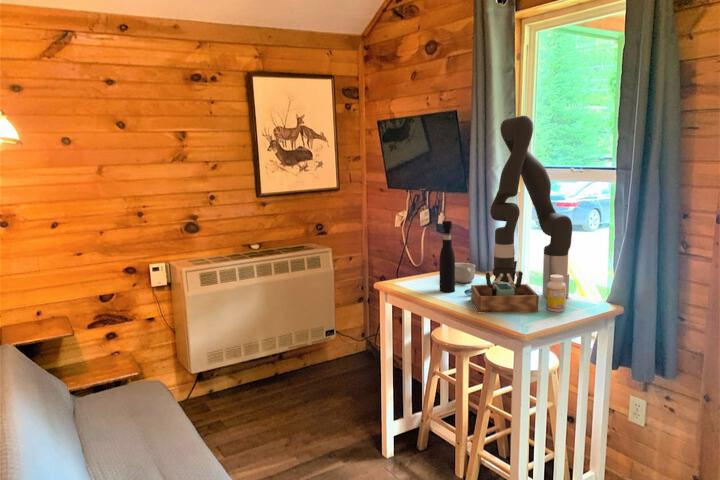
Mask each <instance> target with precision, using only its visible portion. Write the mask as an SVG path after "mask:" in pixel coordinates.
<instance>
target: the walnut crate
mask: <svg viewBox="0 0 720 480" xmlns="http://www.w3.org/2000/svg"><path fill="white" fill-rule="evenodd" d="M470 300H471V302H472V304H473V306H474V305H475V306H474V308H475V307H476V308H475V310H476V309H477V310H476V311H477V313H478V312H485V313H538V312H539V310H540V309H539V305H540V302H539V301H540V296H539V294H537V293H536V291H535V290H534V289H532V287H531V286H529V284H527V283H523V284H522V283H521V286H520V287H517V288H516V289H515V296H492V288H489V287H488V286H487V284H471V286H470Z"/></svg>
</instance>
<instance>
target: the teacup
mask: <svg viewBox="0 0 720 480" xmlns="http://www.w3.org/2000/svg"><path fill="white" fill-rule="evenodd" d="M476 266H477V265H476V264H474V263H468V262H455V283H462V284H463V283H465V284H467V283H468V284H469V283H470V282H471V281H473V280H474V279H475V273H476Z"/></svg>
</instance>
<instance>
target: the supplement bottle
mask: <svg viewBox="0 0 720 480" xmlns="http://www.w3.org/2000/svg"><path fill="white" fill-rule="evenodd" d="M550 280H551V281H550V282H548V284H547V297H546V309H547V310H548V311H550V312H557V313H558V312H559V313H560V312H564V311H565V310H566V301H567V299H566V298H567V297H566V284H565V283H564V282H563V276H562V275H550Z"/></svg>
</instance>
